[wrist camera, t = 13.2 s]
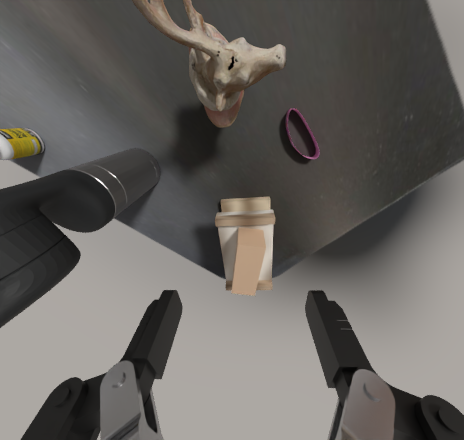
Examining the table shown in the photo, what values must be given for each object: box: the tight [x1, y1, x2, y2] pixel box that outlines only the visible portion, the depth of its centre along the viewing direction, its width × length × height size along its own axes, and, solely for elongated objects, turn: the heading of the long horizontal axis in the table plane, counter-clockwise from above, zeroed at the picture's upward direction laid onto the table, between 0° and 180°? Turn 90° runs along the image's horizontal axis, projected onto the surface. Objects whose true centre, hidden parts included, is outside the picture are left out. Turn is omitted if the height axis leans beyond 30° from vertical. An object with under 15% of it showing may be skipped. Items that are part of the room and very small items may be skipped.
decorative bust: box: [132, 0, 287, 128], centre depth 22 cm, size 11×13×25 cm
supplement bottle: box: [0, 128, 44, 160], centre depth 36 cm, size 5×5×10 cm
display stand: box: [215, 197, 275, 290], centre depth 41 cm, size 12×18×15 cm, turn 5°
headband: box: [286, 108, 319, 159], centre depth 36 cm, size 11×4×2 cm, turn 39°
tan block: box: [232, 227, 266, 295], centre depth 33 cm, size 4×12×5 cm, turn 175°
